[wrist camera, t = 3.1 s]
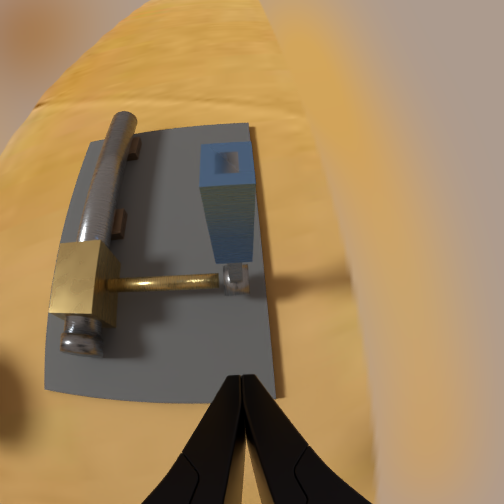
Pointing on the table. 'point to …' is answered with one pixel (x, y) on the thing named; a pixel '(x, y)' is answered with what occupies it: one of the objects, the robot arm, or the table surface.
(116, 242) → the gray mounting plate
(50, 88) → the table surface
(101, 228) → the valve pipe
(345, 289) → the table surface
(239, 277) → the valve lever
